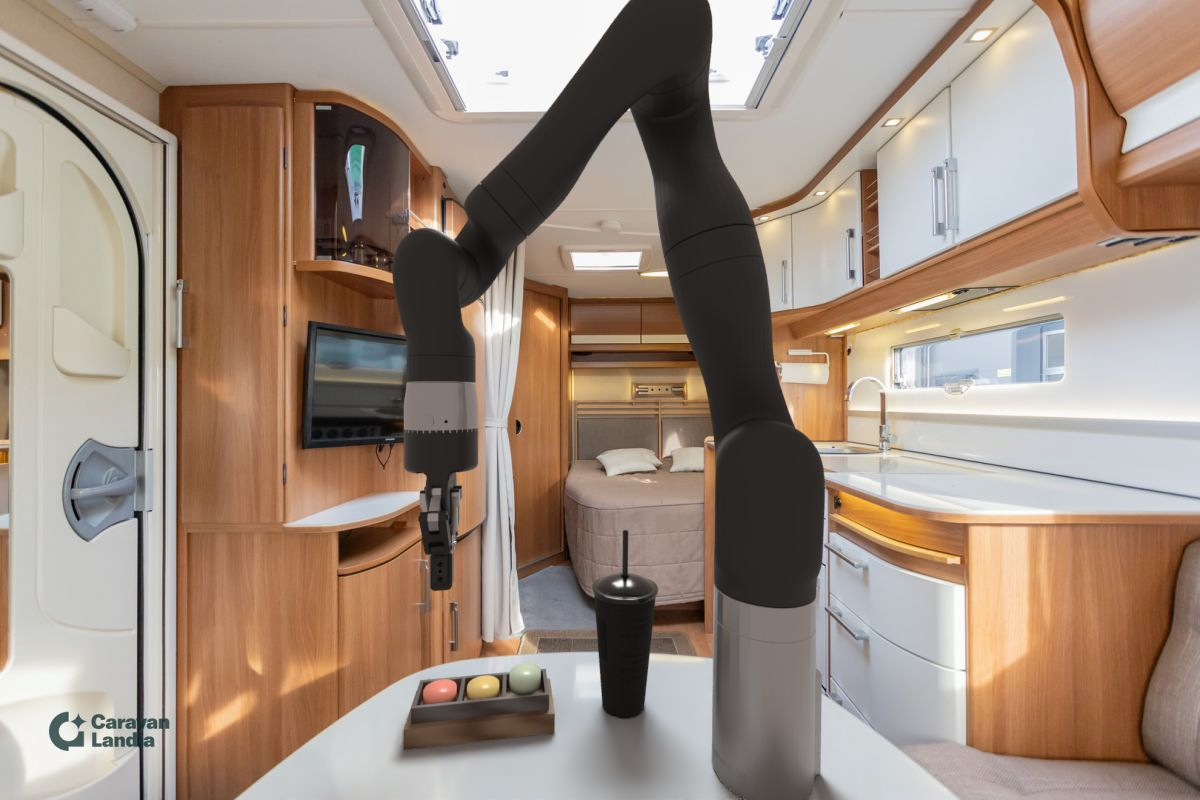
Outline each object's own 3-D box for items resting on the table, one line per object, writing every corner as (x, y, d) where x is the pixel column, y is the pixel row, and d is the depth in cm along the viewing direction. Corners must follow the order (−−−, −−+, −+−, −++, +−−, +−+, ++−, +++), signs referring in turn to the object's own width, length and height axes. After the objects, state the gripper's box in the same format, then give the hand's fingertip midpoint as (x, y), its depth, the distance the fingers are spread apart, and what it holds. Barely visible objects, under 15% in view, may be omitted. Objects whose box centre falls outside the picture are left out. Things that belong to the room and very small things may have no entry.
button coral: (458, 692, 53) (458, 677, 53) (454, 712, 49) (454, 696, 49) (426, 695, 52) (426, 680, 52) (420, 715, 49) (420, 700, 49)
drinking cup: (653, 733, 50) (656, 543, 50) (583, 722, 51) (585, 537, 51) (659, 689, 57) (661, 524, 57) (597, 681, 59) (599, 520, 59)
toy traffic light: (549, 695, 56) (550, 664, 56) (554, 732, 50) (554, 698, 50) (416, 708, 53) (416, 676, 53) (403, 750, 47) (403, 713, 47)
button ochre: (499, 688, 54) (499, 674, 54) (498, 707, 50) (498, 692, 50) (468, 691, 53) (468, 677, 53) (465, 711, 50) (465, 695, 50)
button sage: (539, 675, 54) (539, 661, 54) (541, 693, 51) (541, 678, 51) (509, 678, 54) (509, 664, 54) (509, 696, 50) (509, 681, 50)
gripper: (473, 428, 45) (473, 611, 45) (481, 422, 58) (482, 564, 58) (388, 429, 44) (389, 618, 43) (416, 423, 57) (417, 568, 56)
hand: (442, 587), depth 51 cm, fingers closed
